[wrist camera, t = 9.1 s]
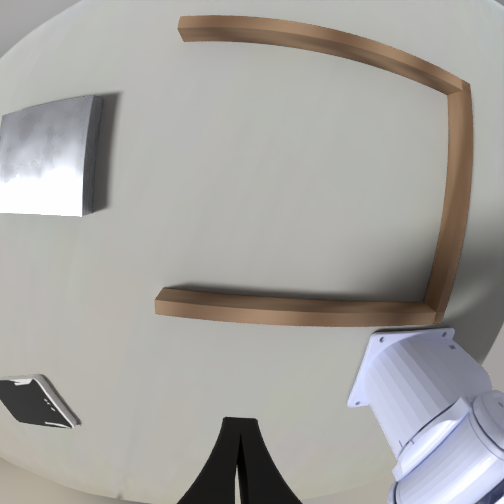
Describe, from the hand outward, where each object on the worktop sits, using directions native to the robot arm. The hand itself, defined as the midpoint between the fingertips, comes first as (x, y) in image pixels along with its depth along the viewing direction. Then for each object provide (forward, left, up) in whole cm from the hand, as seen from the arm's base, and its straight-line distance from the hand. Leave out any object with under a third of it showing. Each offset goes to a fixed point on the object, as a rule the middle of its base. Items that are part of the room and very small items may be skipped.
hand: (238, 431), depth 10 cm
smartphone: (+26, +16, -10) cm, 32 cm away
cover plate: (+16, -11, -10) cm, 22 cm away
